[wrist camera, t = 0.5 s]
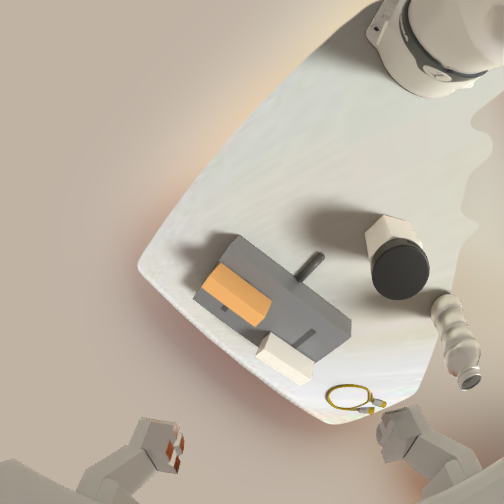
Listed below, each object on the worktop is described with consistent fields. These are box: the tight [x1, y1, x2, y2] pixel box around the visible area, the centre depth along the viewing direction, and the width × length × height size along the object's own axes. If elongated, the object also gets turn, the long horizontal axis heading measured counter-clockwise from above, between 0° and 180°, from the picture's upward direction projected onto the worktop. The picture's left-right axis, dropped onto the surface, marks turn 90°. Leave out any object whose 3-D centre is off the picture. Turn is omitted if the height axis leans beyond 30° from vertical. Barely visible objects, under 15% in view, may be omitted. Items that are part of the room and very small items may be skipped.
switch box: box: [193, 235, 351, 364], centre depth 50 cm, size 23×27×5 cm
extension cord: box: [327, 384, 386, 415], centre depth 59 cm, size 12×16×2 cm
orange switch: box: [202, 263, 272, 327], centre depth 46 cm, size 3×11×5 cm, turn 57°
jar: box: [365, 215, 429, 300], centre depth 37 cm, size 9×8×12 cm
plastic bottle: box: [431, 294, 482, 391], centre depth 34 cm, size 6×7×20 cm
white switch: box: [255, 332, 315, 386], centre depth 50 cm, size 3×11×5 cm, turn 57°
